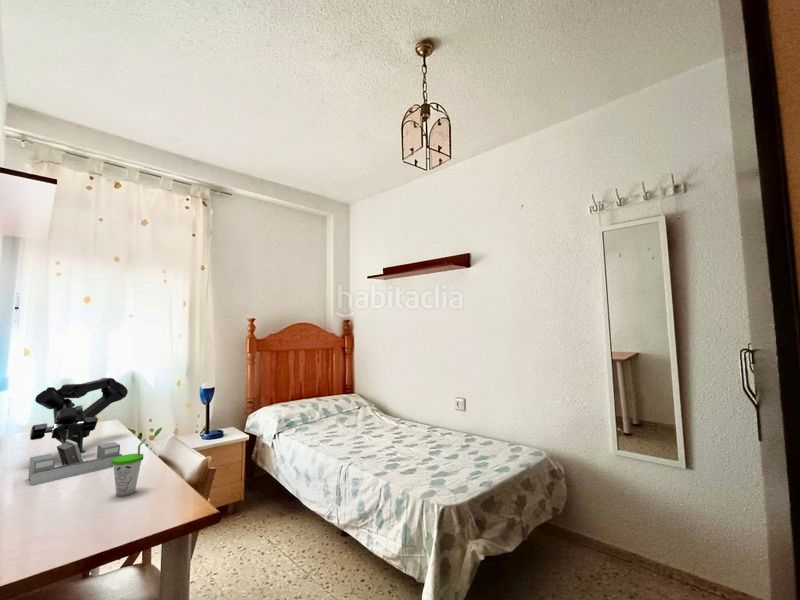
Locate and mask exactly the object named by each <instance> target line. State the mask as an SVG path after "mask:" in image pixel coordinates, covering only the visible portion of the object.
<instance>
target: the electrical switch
mask: <svg viewBox="0 0 800 600" xmlns="http://www.w3.org/2000/svg"><path fill="white" fill-rule="evenodd" d="M56 448H57V453H58V455H59V458H60V462H61V466H64V465H69V464H74V463H79V462H84V460H83V457H82V455H81V454H82V453H80V450H79V447H78V444H77V443H76V442H74V441H71V440H69V439H68V440H65V443H64V444H62V443H61V444H59V445H57V446H56Z"/></svg>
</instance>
